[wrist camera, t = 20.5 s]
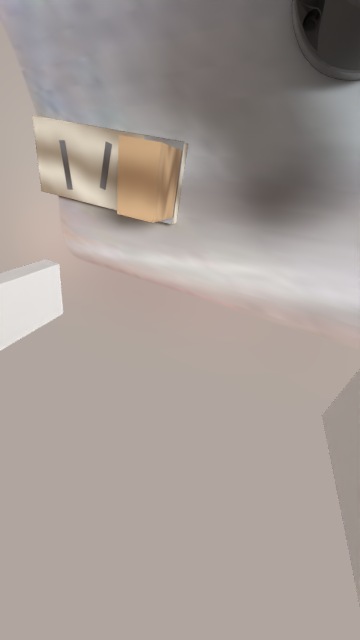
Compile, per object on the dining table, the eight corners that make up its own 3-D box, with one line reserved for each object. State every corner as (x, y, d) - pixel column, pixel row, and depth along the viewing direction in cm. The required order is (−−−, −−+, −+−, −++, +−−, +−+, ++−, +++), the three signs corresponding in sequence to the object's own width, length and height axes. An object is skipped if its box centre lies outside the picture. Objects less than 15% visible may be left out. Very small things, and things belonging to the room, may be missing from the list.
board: (40, 117, 37) (31, 114, 35) (188, 143, 32) (183, 142, 30) (48, 191, 42) (40, 191, 40) (176, 223, 37) (172, 224, 36)
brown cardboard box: (147, 144, 32) (118, 134, 26) (182, 150, 31) (160, 142, 25) (142, 209, 36) (117, 213, 30) (173, 217, 35) (153, 222, 29)
